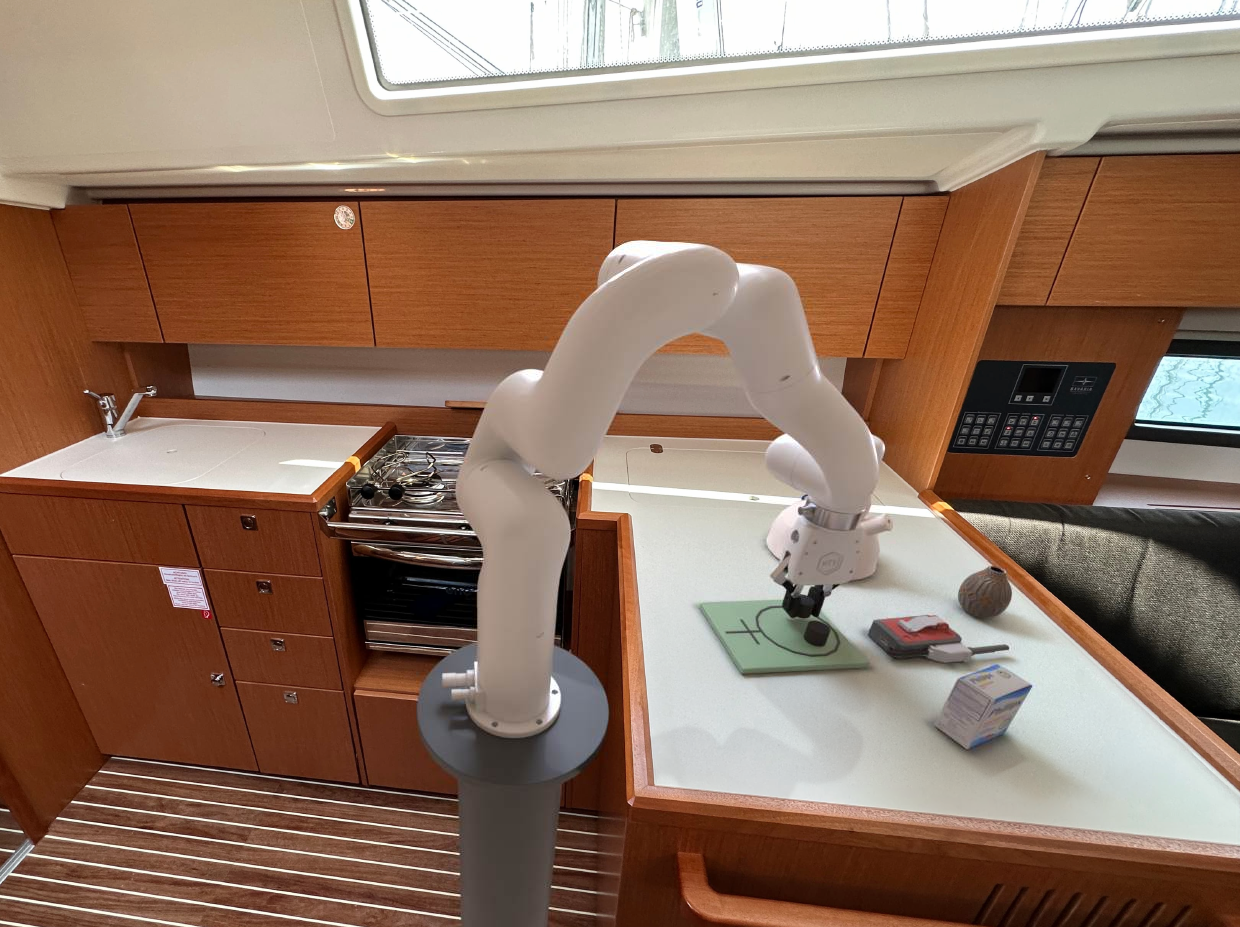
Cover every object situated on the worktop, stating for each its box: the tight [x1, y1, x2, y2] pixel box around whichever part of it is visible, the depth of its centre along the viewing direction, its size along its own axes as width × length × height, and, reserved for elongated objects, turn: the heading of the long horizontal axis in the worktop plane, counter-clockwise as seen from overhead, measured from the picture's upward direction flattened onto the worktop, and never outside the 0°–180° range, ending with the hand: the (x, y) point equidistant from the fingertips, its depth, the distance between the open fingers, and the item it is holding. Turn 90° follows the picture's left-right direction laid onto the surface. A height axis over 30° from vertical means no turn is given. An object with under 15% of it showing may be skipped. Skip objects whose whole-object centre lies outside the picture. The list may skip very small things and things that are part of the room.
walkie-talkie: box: [867, 614, 1010, 664], centre depth 88 cm, size 9×4×20 cm
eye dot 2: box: [804, 621, 830, 647], centre depth 87 cm, size 3×3×3 cm
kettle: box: [765, 494, 894, 582], centre depth 109 cm, size 20×21×18 cm
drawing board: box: [698, 599, 870, 675], centre depth 90 cm, size 20×16×1 cm
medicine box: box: [934, 663, 1033, 750], centre depth 72 cm, size 8×4×9 cm, turn 112°
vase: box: [957, 565, 1013, 619], centre depth 96 cm, size 7×7×9 cm
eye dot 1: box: [796, 593, 815, 618], centre depth 91 cm, size 3×3×3 cm
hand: (799, 611), depth 91 cm, fingers closed on eye dot 1, 3 cm apart
